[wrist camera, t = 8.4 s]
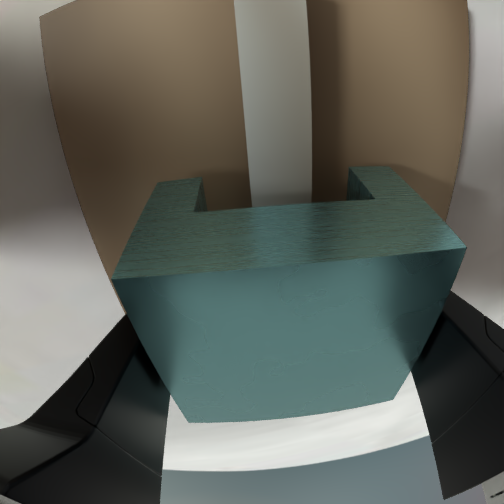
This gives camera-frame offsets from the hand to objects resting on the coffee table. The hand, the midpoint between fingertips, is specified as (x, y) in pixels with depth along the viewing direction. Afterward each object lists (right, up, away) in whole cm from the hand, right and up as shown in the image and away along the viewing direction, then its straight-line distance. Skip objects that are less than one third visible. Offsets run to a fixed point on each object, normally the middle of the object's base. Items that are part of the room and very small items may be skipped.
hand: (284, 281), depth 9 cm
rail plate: (0, +2, +2) cm, 3 cm away
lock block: (0, +1, +1) cm, 1 cm away
